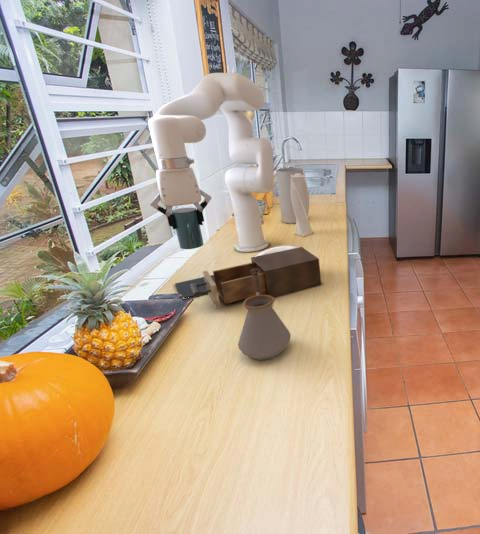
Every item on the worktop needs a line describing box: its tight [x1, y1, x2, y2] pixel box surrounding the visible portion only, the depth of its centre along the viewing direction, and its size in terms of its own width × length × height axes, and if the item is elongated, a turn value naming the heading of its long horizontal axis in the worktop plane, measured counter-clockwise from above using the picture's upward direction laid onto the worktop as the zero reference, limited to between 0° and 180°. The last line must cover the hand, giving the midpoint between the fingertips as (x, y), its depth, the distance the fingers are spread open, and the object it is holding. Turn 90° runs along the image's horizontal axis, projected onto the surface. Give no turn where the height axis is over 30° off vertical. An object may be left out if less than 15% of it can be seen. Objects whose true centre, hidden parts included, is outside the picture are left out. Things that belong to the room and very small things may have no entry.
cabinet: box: [250, 246, 322, 298], centre depth 122 cm, size 17×14×9 cm
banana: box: [254, 245, 299, 257], centre depth 140 cm, size 5×19×15 cm
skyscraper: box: [291, 169, 314, 237], centre depth 167 cm, size 8×8×28 cm
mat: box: [175, 274, 215, 299], centre depth 122 cm, size 13×13×1 cm
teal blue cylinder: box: [171, 207, 205, 250], centre depth 114 cm, size 8×6×11 cm
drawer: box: [190, 262, 267, 310], centre depth 113 cm, size 20×13×7 cm, turn 125°
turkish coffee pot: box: [237, 268, 292, 361], centre depth 91 cm, size 21×12×15 cm, turn 21°
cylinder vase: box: [275, 167, 304, 225], centre depth 188 cm, size 12×12×25 cm
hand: (187, 225), depth 114 cm, fingers closed on teal blue cylinder, 6 cm apart
